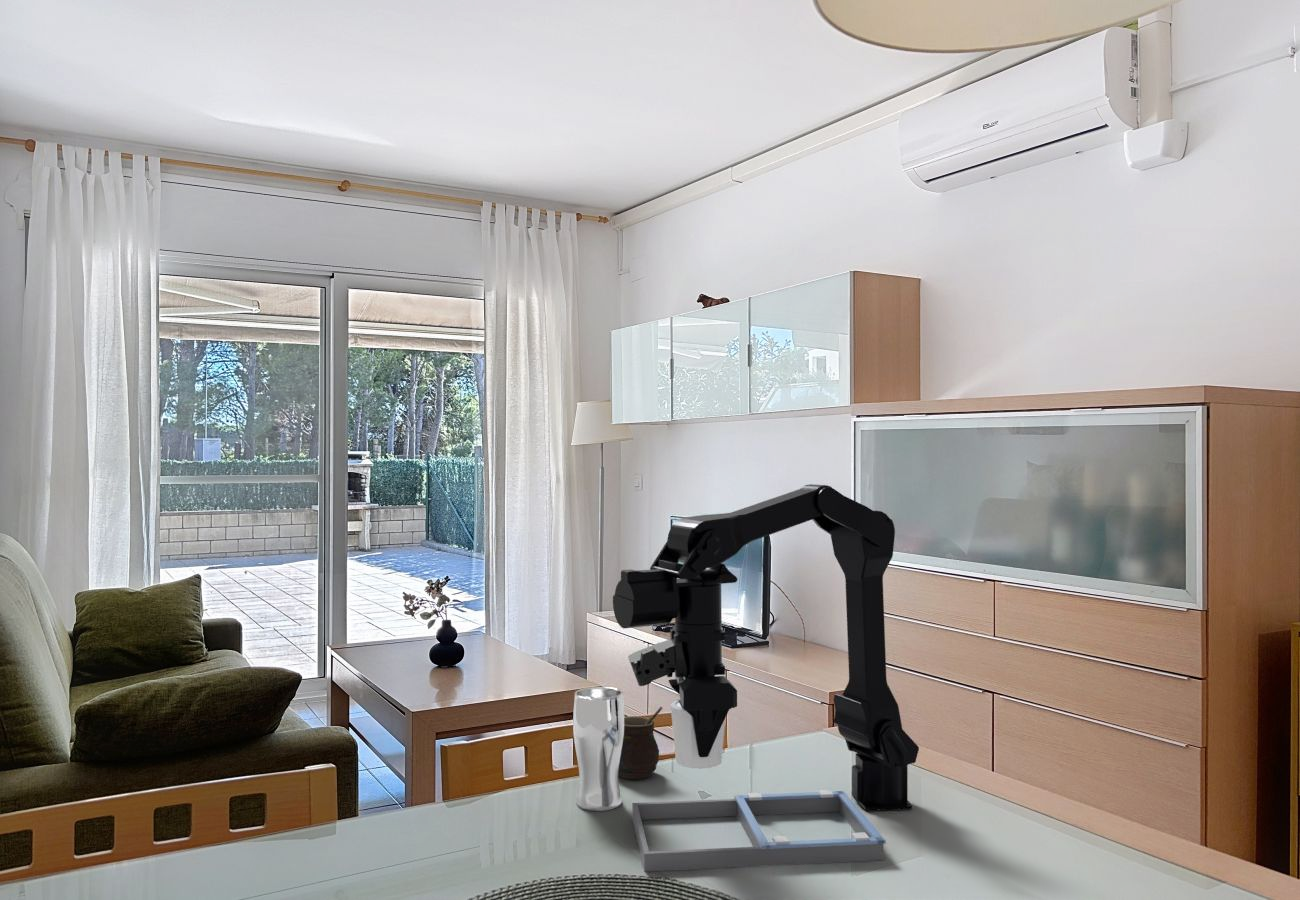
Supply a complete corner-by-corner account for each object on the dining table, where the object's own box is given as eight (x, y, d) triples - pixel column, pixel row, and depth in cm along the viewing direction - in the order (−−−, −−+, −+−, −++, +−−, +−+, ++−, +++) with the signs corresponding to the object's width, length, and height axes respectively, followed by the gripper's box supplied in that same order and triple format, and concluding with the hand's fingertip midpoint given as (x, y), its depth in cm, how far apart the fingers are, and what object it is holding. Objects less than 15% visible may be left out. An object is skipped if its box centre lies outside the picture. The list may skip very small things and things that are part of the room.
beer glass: (627, 794, 136) (627, 686, 136) (621, 813, 129) (621, 699, 129) (578, 793, 137) (577, 685, 137) (569, 811, 130) (568, 698, 130)
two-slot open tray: (843, 809, 130) (843, 788, 130) (885, 860, 114) (885, 837, 114) (632, 817, 128) (632, 797, 128) (644, 872, 111) (644, 848, 111)
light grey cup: (733, 755, 122) (732, 699, 122) (718, 772, 116) (718, 713, 116) (680, 749, 125) (680, 694, 125) (663, 766, 118) (663, 708, 118)
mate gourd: (605, 769, 147) (606, 702, 147) (654, 765, 149) (655, 699, 149) (615, 784, 140) (616, 714, 140) (666, 781, 142) (667, 711, 142)
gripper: (626, 610, 129) (627, 728, 129) (639, 637, 110) (640, 776, 110) (710, 607, 130) (711, 725, 130) (737, 635, 111) (738, 772, 111)
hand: (699, 748), depth 120 cm, fingers closed on light grey cup, 6 cm apart
